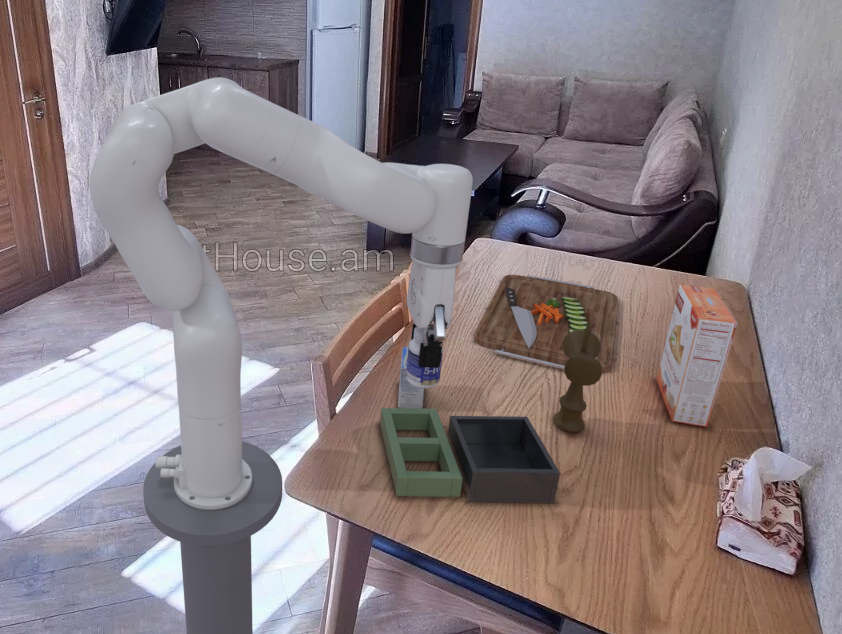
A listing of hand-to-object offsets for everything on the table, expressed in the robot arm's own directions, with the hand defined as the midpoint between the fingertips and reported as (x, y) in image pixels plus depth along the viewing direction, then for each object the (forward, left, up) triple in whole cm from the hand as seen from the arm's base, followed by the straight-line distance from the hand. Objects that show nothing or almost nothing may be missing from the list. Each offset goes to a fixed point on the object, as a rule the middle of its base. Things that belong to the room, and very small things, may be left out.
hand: (424, 355), depth 102 cm
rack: (0, -3, -17) cm, 17 cm away
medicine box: (+2, +14, -17) cm, 22 cm away
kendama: (+28, +6, -17) cm, 33 cm away
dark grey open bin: (+12, -6, -17) cm, 22 cm away
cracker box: (+51, +13, -17) cm, 55 cm away
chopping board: (+40, +46, -17) cm, 63 cm away
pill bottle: (0, 0, -5) cm, 5 cm away
